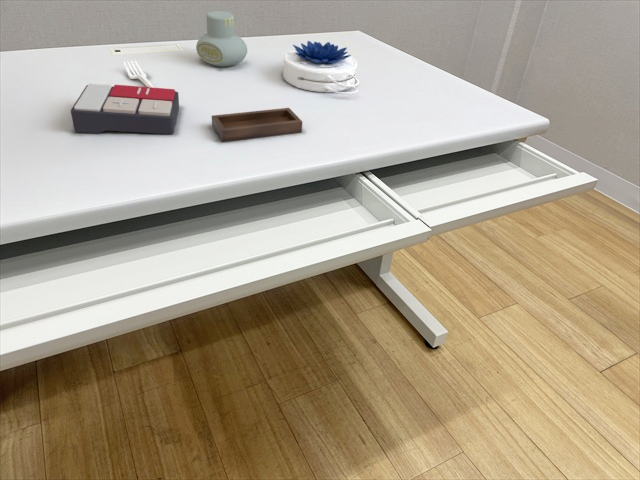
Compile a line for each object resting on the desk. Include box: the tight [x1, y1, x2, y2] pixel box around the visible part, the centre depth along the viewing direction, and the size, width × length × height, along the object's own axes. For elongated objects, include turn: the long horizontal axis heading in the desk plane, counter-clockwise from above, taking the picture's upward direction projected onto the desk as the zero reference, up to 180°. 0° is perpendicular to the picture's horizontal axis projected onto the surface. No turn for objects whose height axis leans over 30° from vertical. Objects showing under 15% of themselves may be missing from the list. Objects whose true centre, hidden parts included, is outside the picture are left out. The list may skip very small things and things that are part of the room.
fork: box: [123, 60, 156, 88], centre depth 90 cm, size 3×20×2 cm, turn 35°
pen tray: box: [211, 107, 303, 143], centre depth 80 cm, size 14×6×2 cm, turn 115°
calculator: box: [70, 83, 180, 135], centre depth 78 cm, size 11×4×15 cm
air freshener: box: [195, 10, 248, 68], centre depth 102 cm, size 11×8×10 cm
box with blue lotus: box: [282, 40, 360, 95], centre depth 99 cm, size 7×16×20 cm
